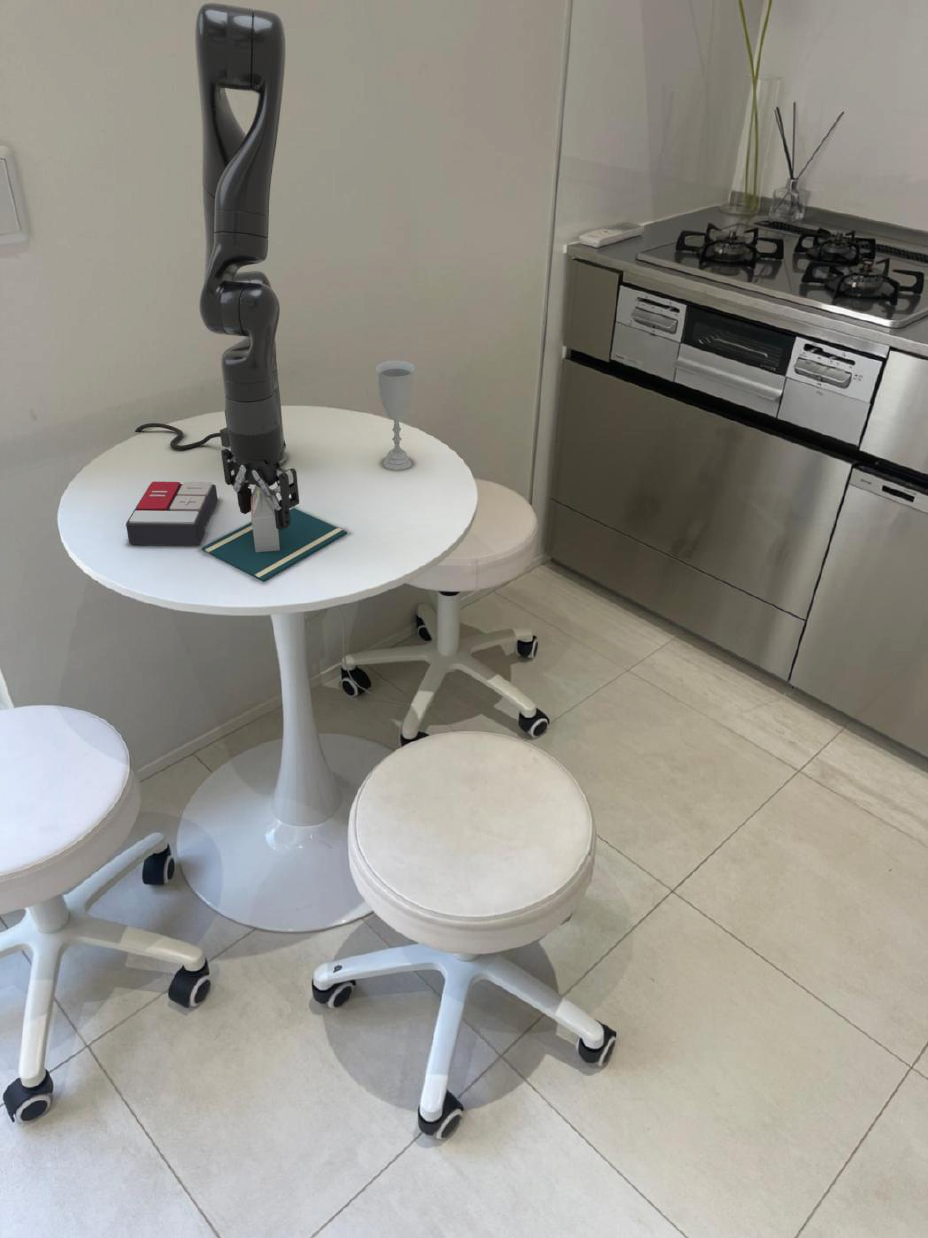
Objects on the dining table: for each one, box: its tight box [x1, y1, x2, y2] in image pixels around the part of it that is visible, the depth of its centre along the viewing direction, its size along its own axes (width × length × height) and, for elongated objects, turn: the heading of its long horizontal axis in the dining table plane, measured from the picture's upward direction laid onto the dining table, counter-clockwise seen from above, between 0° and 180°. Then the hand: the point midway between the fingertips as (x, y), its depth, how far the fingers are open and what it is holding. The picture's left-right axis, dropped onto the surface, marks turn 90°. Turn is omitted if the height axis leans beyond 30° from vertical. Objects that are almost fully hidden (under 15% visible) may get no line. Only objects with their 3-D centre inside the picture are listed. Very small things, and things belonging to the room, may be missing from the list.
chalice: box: [375, 360, 416, 471], centre depth 169 cm, size 7×7×18 cm
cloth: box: [201, 507, 348, 582], centre depth 151 cm, size 14×18×1 cm
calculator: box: [125, 481, 219, 546], centre depth 155 cm, size 11×4×15 cm
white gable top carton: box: [250, 485, 280, 552], centre depth 148 cm, size 4×7×10 cm, turn 11°
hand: (264, 519), depth 149 cm, fingers closed on white gable top carton, 7 cm apart
